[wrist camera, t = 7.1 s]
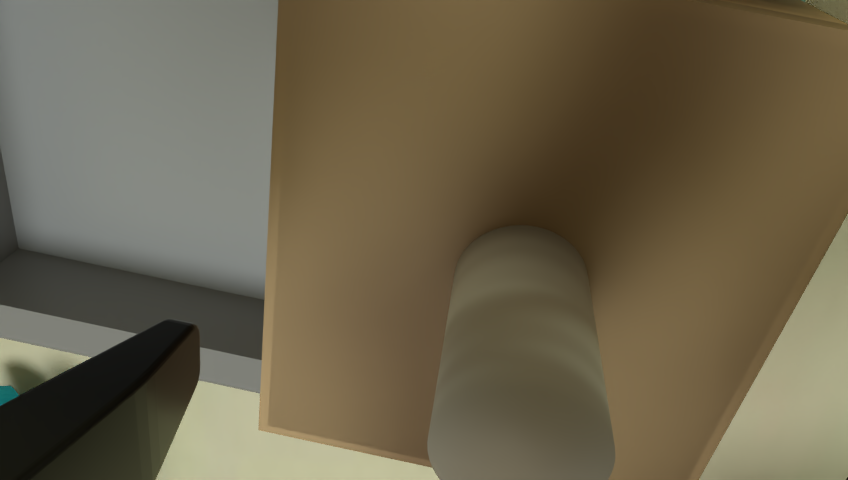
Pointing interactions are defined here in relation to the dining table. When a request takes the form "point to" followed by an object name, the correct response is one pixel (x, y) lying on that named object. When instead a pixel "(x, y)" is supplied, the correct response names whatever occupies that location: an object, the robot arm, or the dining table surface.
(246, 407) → the dining table surface
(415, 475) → the dining table surface
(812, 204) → the crate
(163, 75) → the bay
